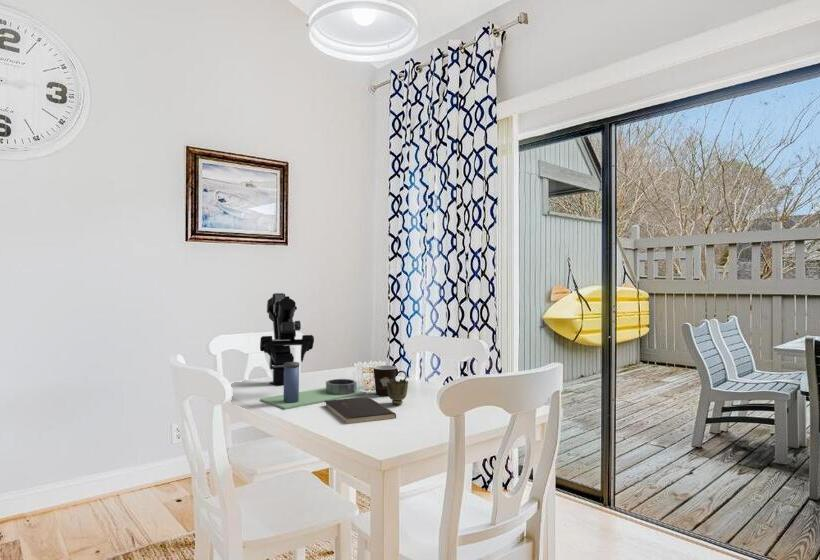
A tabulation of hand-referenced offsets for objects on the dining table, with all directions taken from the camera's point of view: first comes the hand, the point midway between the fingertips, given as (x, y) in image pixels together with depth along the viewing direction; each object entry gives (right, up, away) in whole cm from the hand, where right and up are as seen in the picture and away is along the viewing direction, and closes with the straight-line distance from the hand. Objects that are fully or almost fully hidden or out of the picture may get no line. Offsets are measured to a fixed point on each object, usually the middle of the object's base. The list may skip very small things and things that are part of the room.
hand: (288, 361), depth 184 cm
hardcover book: (+26, -14, -16) cm, 34 cm away
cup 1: (+17, -12, +10) cm, 23 cm away
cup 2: (+38, -14, -6) cm, 41 cm away
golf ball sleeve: (+2, -12, -6) cm, 14 cm away
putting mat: (+9, -13, +3) cm, 16 cm away
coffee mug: (+35, -14, +8) cm, 38 cm away
